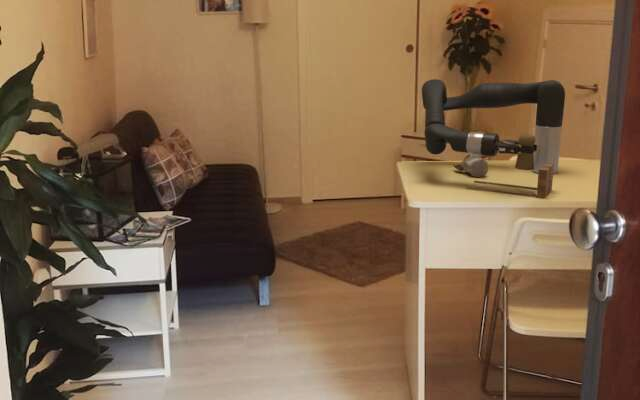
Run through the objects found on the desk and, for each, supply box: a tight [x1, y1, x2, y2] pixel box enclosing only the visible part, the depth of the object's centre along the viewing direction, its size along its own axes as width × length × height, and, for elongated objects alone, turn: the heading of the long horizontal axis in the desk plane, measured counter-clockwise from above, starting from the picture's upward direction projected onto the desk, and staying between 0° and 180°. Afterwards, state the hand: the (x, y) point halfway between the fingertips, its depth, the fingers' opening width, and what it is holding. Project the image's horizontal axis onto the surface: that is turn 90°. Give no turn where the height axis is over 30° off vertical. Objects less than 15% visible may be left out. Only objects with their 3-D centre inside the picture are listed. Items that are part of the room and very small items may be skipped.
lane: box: [465, 163, 554, 199], centre depth 235 cm, size 12×26×9 cm, turn 62°
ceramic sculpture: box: [453, 153, 490, 178], centre depth 258 cm, size 11×9×15 cm
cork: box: [514, 133, 536, 171], centre depth 230 cm, size 6×6×11 cm
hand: (535, 149), depth 229 cm, fingers closed on cork, 3 cm apart
